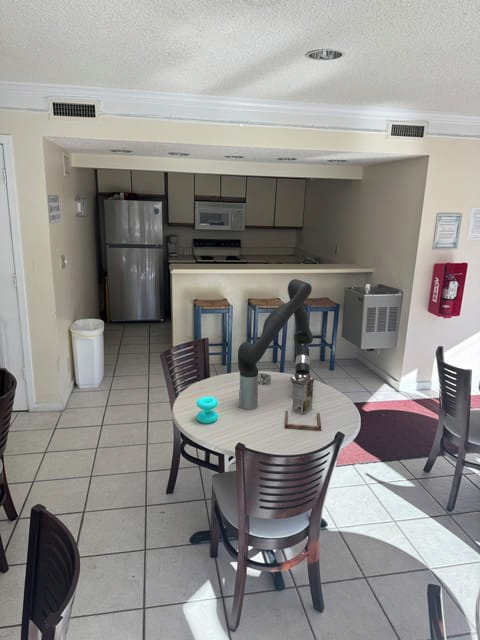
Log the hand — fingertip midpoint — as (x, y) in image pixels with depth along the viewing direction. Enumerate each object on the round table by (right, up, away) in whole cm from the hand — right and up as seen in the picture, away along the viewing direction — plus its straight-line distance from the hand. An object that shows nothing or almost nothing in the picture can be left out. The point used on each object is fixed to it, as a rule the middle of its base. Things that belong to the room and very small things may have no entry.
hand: (302, 395), depth 225 cm
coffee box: (-1, -6, -7) cm, 10 cm away
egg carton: (-18, +3, +28) cm, 33 cm away
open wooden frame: (-2, -9, -19) cm, 21 cm away
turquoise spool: (-48, -8, -18) cm, 51 cm away
